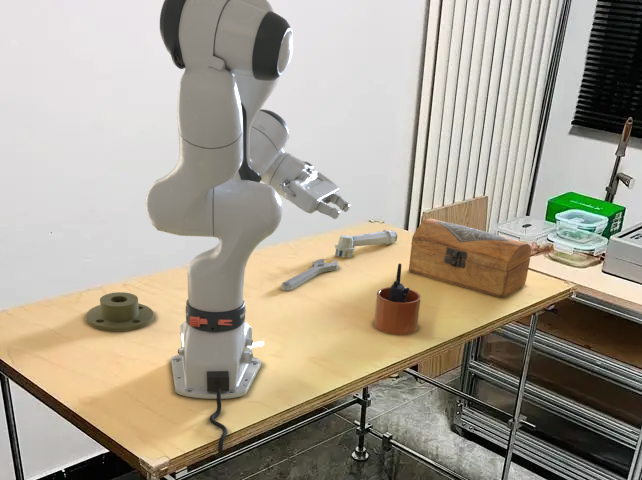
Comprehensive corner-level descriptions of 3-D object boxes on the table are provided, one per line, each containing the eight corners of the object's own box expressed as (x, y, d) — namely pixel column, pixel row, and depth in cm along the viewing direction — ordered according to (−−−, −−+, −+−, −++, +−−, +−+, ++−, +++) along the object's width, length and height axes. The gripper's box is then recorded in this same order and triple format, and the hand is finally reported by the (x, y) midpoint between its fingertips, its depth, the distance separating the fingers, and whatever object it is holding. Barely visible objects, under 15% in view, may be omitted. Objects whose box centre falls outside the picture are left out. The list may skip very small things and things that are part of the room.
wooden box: (405, 272, 229) (410, 224, 222) (434, 258, 241) (439, 213, 234) (500, 301, 214) (509, 251, 208) (526, 285, 227) (535, 237, 220)
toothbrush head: (400, 232, 248) (346, 235, 230) (396, 253, 251) (343, 258, 233) (387, 227, 251) (333, 231, 233) (383, 248, 254) (330, 253, 236)
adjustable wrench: (288, 292, 209) (288, 286, 208) (268, 286, 212) (268, 279, 211) (341, 267, 228) (341, 261, 227) (322, 262, 231) (323, 256, 230)
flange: (113, 317, 176) (166, 299, 187) (71, 298, 184) (124, 282, 194) (115, 337, 178) (167, 318, 189) (73, 317, 186) (125, 300, 197)
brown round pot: (419, 335, 191) (423, 304, 187) (376, 333, 190) (379, 302, 186) (414, 318, 200) (417, 287, 196) (372, 316, 199) (375, 285, 195)
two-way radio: (389, 318, 197) (395, 260, 190) (407, 322, 196) (414, 263, 189) (384, 327, 193) (390, 267, 185) (402, 330, 192) (409, 270, 184)
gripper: (283, 171, 169) (338, 207, 169) (310, 161, 187) (360, 193, 187) (269, 197, 172) (324, 232, 172) (298, 185, 190) (347, 216, 190)
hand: (343, 212), depth 180 cm, fingers open, 8 cm apart
